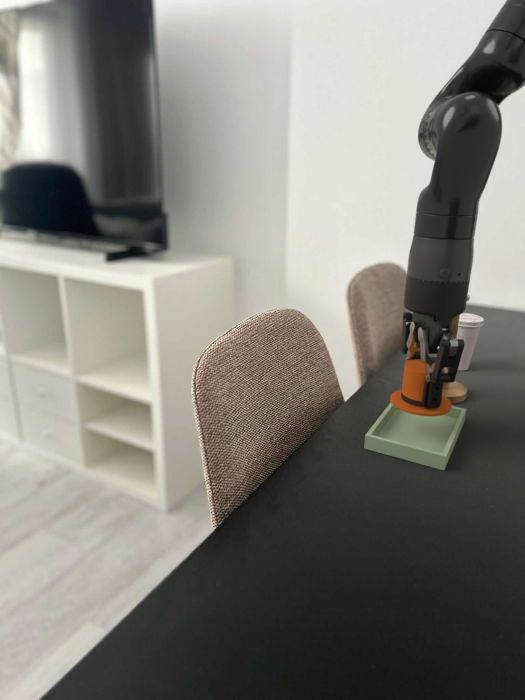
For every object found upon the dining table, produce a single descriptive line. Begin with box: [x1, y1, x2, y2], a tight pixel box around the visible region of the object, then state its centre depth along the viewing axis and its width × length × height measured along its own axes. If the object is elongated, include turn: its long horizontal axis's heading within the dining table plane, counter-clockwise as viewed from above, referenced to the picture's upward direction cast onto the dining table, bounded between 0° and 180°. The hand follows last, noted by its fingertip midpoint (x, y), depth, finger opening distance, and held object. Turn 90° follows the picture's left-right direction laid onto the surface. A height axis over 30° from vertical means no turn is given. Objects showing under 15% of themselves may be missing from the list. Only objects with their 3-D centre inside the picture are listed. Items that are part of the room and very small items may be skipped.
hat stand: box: [442, 294, 471, 405], centre depth 82 cm, size 8×8×17 cm
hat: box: [389, 359, 453, 416], centre depth 68 cm, size 8×8×5 cm
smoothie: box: [456, 310, 485, 372], centre depth 93 cm, size 6×6×14 cm
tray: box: [363, 402, 468, 471], centre depth 71 cm, size 15×10×2 cm
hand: (421, 397), depth 69 cm, fingers closed on hat, 5 cm apart
